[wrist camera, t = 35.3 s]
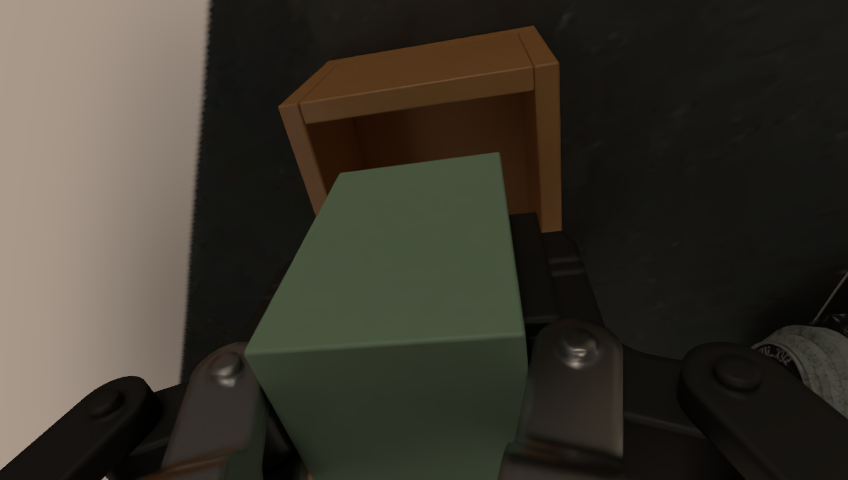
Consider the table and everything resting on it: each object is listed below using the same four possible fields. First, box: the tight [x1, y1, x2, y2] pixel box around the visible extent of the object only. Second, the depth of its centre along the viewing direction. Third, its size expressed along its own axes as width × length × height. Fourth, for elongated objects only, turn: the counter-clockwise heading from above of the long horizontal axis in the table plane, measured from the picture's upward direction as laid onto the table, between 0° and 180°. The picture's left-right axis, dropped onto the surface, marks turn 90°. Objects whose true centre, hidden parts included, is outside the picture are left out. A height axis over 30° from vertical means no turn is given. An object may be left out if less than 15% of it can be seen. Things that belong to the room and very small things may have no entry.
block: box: [244, 152, 529, 480], centre depth 10 cm, size 4×4×6 cm
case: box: [278, 26, 562, 233], centre depth 16 cm, size 11×7×5 cm
